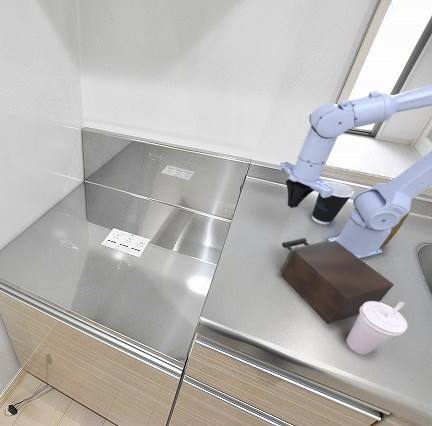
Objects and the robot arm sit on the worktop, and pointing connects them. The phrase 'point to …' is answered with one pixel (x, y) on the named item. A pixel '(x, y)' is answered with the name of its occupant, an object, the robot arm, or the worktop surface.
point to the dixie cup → (331, 203)
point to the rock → (395, 230)
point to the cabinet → (334, 280)
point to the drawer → (294, 243)
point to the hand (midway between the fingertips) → (292, 205)
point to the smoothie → (375, 326)
